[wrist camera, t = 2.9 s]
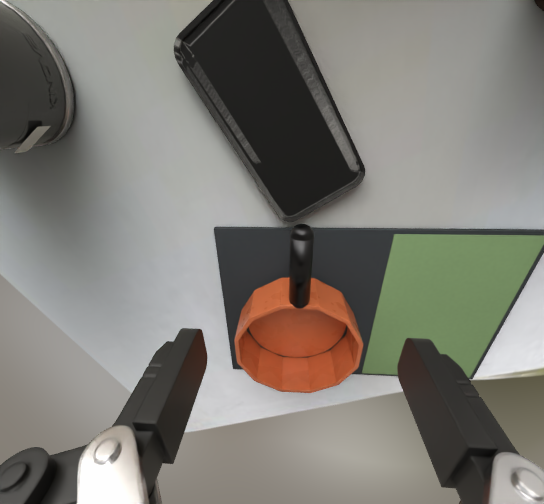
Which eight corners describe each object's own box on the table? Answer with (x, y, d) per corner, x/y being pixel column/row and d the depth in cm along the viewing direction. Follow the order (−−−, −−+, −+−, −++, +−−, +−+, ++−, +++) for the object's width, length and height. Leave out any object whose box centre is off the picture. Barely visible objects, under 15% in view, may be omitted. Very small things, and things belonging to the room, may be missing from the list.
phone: (264, -50, 14) (370, 179, 20) (266, -40, 15) (366, 176, 21) (165, 47, 17) (284, 227, 22) (172, 51, 18) (284, 222, 23)
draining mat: (233, 366, 34) (232, 369, 33) (214, 226, 24) (213, 228, 24) (470, 376, 32) (472, 380, 31) (551, 229, 22) (556, 231, 22)
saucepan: (246, 356, 31) (240, 391, 28) (231, 208, 22) (219, 228, 18) (344, 360, 31) (352, 396, 27) (371, 208, 22) (390, 230, 18)
